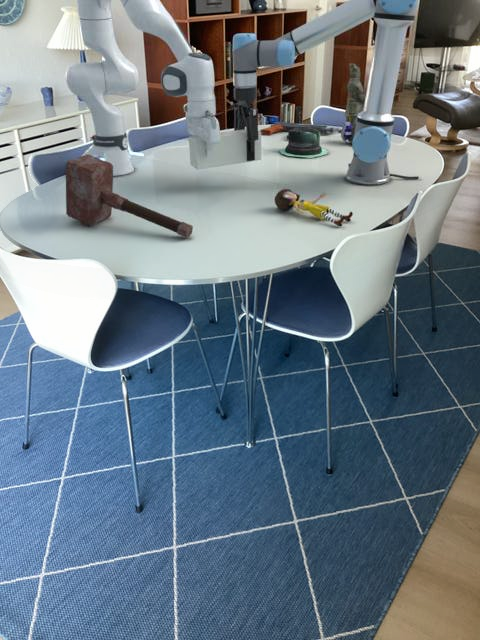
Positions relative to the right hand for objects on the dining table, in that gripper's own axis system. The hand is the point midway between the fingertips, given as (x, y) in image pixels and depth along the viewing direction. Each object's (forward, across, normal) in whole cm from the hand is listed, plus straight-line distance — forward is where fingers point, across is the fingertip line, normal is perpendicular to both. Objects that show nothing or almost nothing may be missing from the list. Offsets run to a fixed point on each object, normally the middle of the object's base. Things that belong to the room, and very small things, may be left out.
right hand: (246, 158), depth 192 cm
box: (+1, 0, +8) cm, 8 cm away
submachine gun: (+10, +60, -56) cm, 83 cm away
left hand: (-4, 0, +16) cm, 16 cm away
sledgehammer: (+9, -22, +48) cm, 54 cm away
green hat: (+10, +30, -42) cm, 52 cm away
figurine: (+10, -38, -2) cm, 40 cm away
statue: (+10, +53, -85) cm, 100 cm away
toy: (+10, +31, -70) cm, 77 cm away
